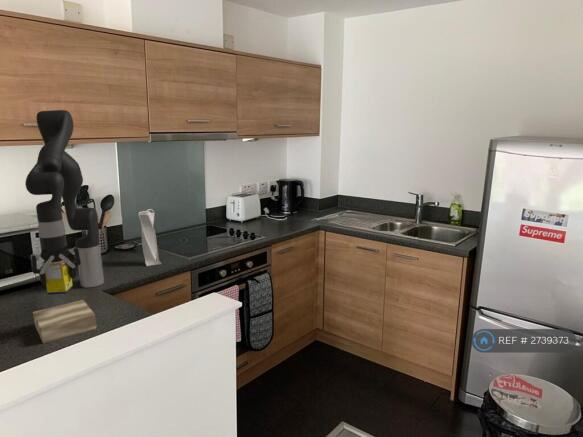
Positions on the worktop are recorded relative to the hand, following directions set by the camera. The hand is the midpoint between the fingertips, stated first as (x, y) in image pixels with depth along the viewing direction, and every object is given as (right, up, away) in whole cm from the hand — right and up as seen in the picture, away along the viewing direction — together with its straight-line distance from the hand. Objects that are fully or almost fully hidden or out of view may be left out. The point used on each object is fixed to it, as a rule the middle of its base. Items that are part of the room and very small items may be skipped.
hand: (58, 281), depth 144 cm
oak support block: (0, -16, +4) cm, 16 cm away
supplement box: (0, -4, +2) cm, 4 cm away
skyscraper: (+9, -2, +69) cm, 69 cm away
